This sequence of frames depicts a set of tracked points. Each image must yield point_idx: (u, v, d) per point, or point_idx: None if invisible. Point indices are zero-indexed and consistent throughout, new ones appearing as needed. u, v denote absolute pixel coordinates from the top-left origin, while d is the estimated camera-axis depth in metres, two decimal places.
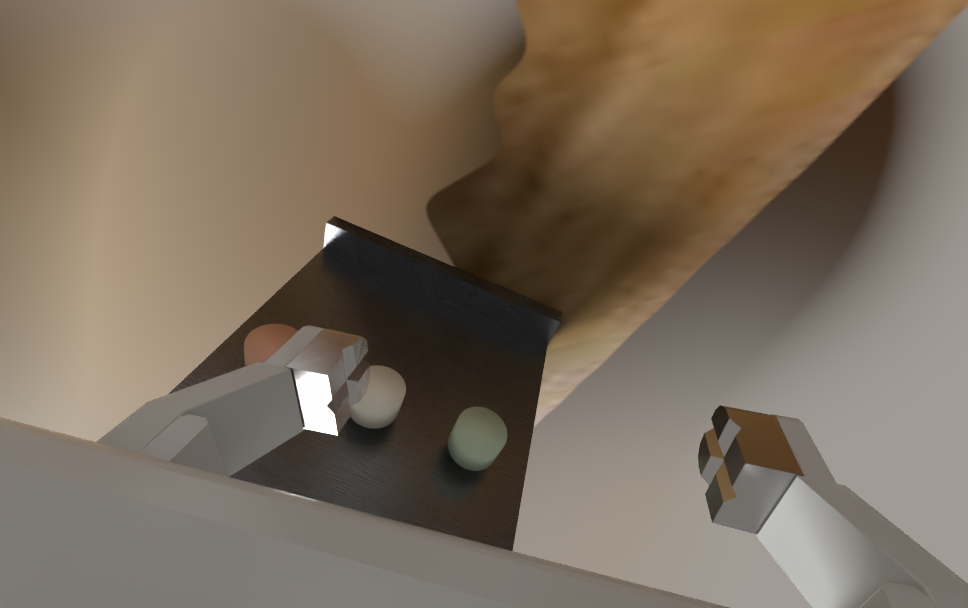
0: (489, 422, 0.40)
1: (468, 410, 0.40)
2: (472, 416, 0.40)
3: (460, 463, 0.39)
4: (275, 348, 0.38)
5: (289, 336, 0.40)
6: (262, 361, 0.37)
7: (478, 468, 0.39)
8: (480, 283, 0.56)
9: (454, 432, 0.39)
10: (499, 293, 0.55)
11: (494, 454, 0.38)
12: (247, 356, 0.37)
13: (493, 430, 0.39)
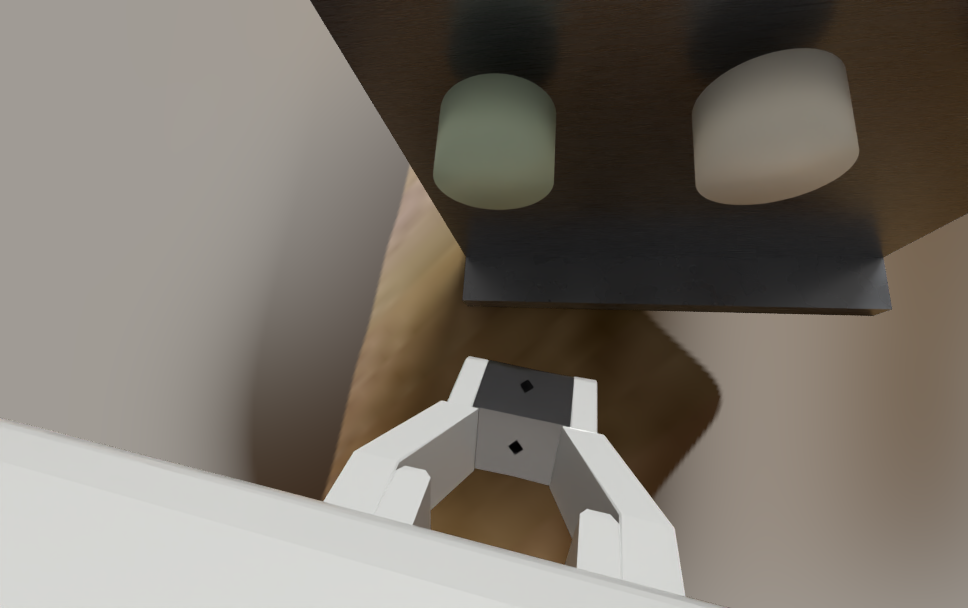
0: (486, 194, 0.18)
1: (538, 197, 0.18)
2: (524, 191, 0.18)
3: (503, 82, 0.16)
4: None
5: None
6: None
7: (460, 89, 0.16)
8: (596, 305, 0.36)
9: (549, 149, 0.16)
10: (562, 304, 0.36)
11: (441, 151, 0.16)
12: None
13: (471, 187, 0.18)
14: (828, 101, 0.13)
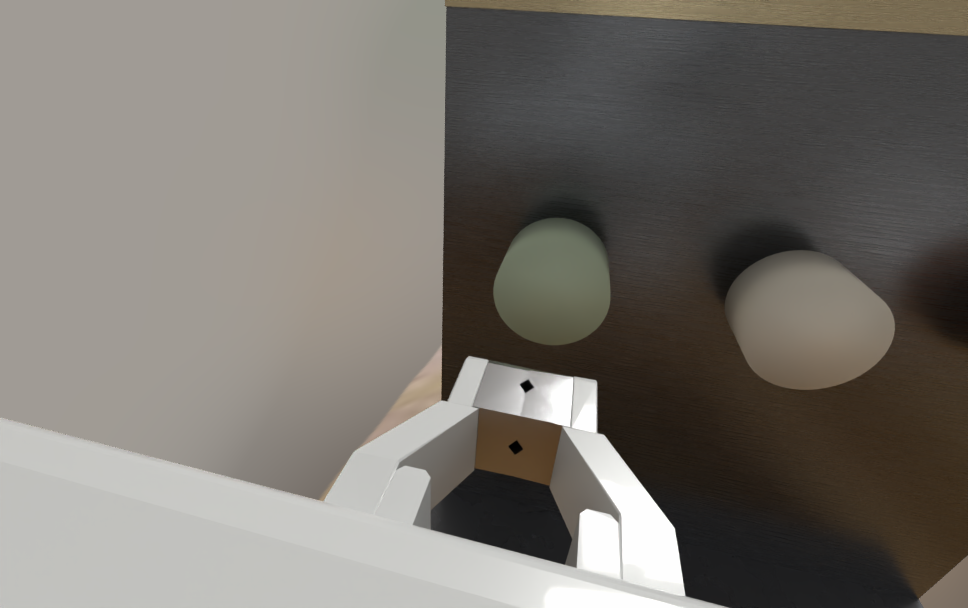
0: (536, 315, 0.19)
1: (586, 331, 0.18)
2: (575, 319, 0.18)
3: (577, 224, 0.19)
4: None
5: None
6: None
7: (538, 222, 0.19)
8: None
9: (609, 278, 0.18)
10: None
11: (515, 250, 0.18)
12: None
13: (526, 301, 0.18)
14: (854, 277, 0.16)
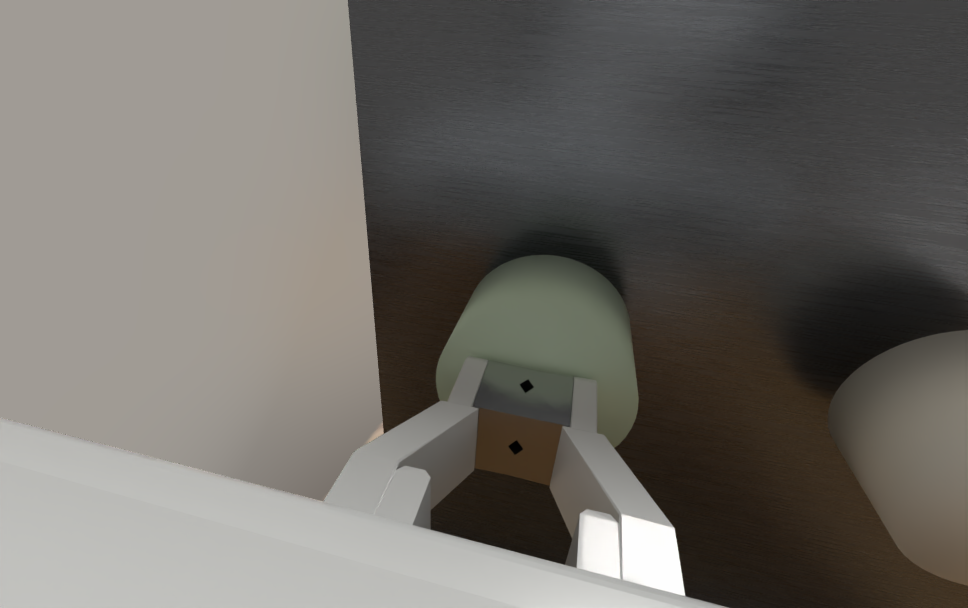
0: None
1: None
2: None
3: (578, 267, 0.11)
4: None
5: None
6: None
7: (515, 263, 0.12)
8: None
9: (634, 366, 0.10)
10: None
11: (470, 318, 0.10)
12: None
13: None
14: None
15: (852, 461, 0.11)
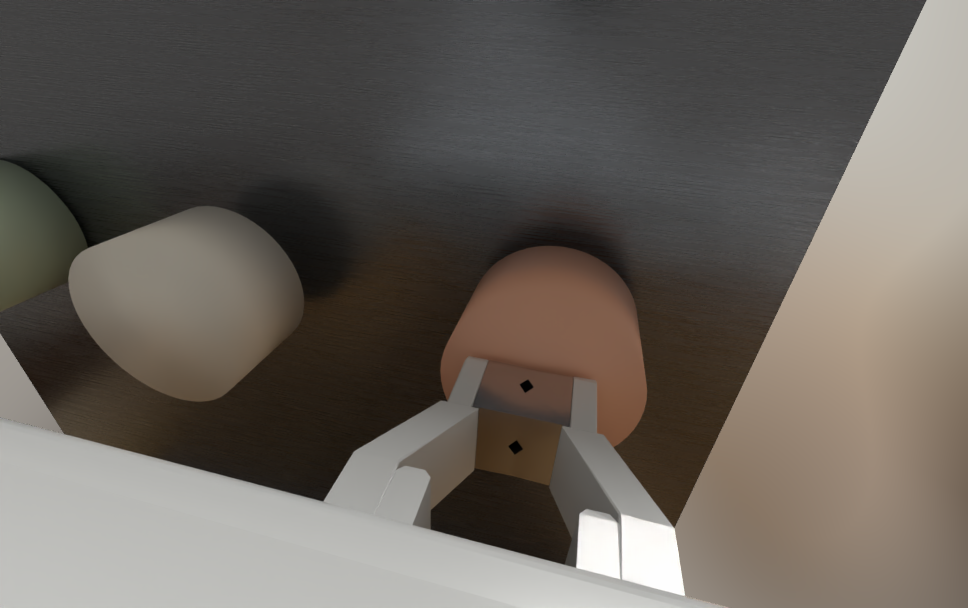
0: None
1: None
2: None
3: None
4: None
5: None
6: (537, 309, 0.09)
7: None
8: None
9: None
10: None
11: None
12: (606, 317, 0.09)
13: None
14: (186, 239, 0.11)
15: None
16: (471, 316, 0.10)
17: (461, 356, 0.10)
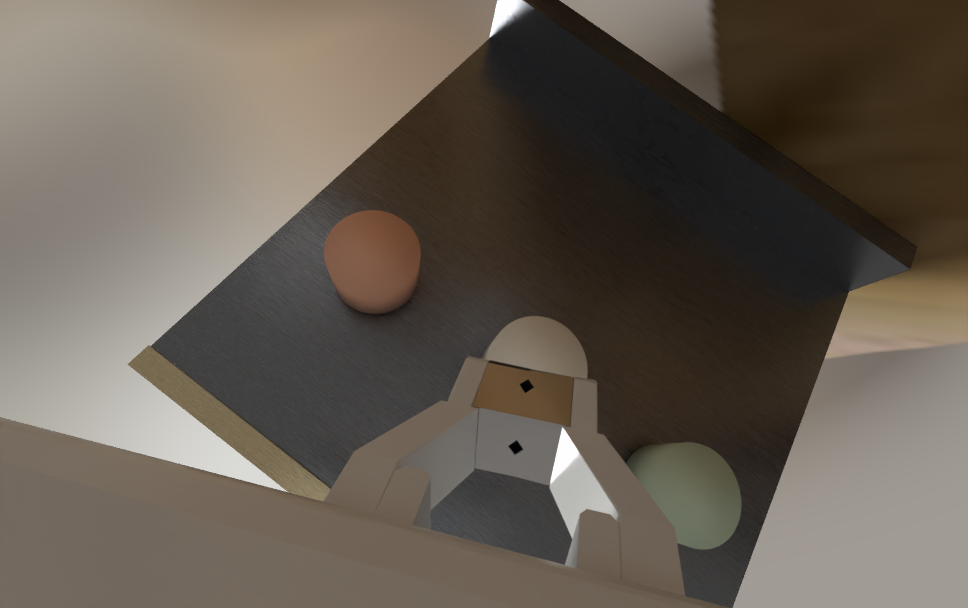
0: (712, 481, 0.22)
1: (678, 448, 0.22)
2: (684, 463, 0.22)
3: None
4: (372, 261, 0.22)
5: (398, 240, 0.23)
6: (348, 285, 0.21)
7: None
8: (764, 156, 0.28)
9: (643, 481, 0.22)
10: (798, 184, 0.28)
11: None
12: None
13: (715, 499, 0.21)
14: None
15: None
16: (377, 295, 0.22)
17: (395, 281, 0.22)
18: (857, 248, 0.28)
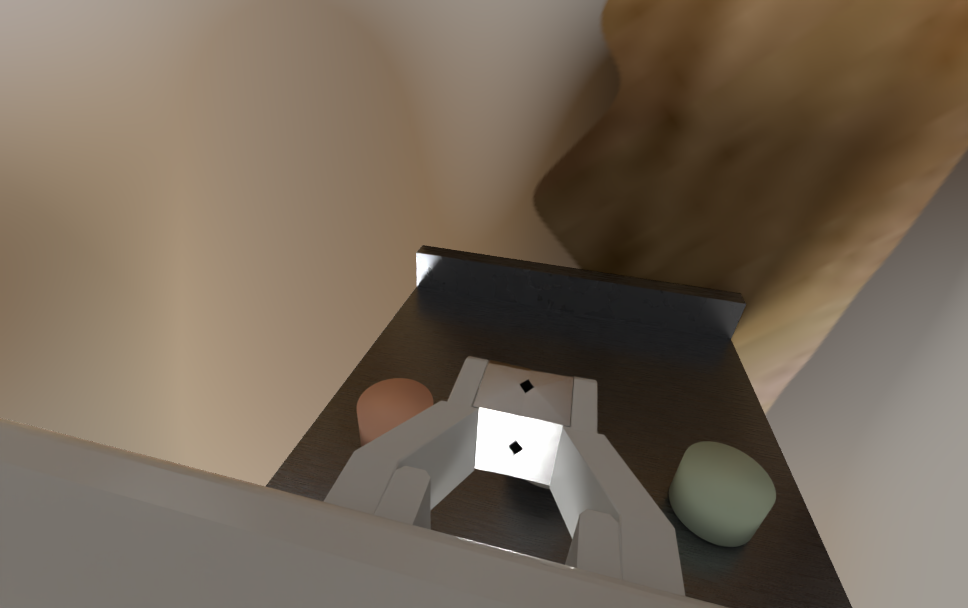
0: (732, 462, 0.25)
1: (691, 449, 0.26)
2: (703, 458, 0.26)
3: (710, 537, 0.24)
4: (397, 408, 0.27)
5: (411, 391, 0.29)
6: (385, 429, 0.26)
7: (741, 542, 0.24)
8: (620, 280, 0.42)
9: (685, 487, 0.25)
10: (649, 286, 0.42)
11: (767, 512, 0.23)
12: (364, 426, 0.26)
13: (744, 473, 0.25)
14: None
15: None
16: None
17: None
18: (710, 306, 0.41)
